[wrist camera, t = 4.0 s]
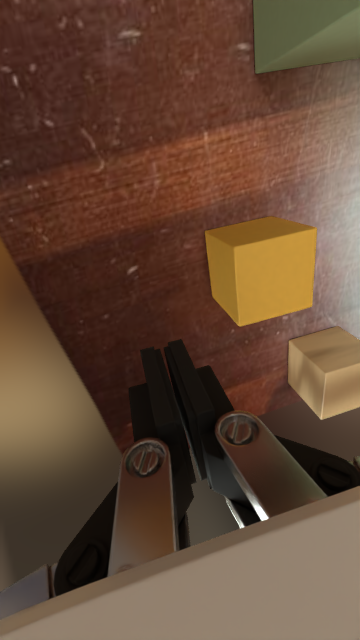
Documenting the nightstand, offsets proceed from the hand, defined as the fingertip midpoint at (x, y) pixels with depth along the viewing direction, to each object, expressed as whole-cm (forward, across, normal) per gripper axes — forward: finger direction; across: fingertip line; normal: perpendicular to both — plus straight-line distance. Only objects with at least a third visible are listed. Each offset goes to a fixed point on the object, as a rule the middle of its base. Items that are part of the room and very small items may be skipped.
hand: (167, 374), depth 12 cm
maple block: (+10, -14, +10) cm, 20 cm away
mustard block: (+10, -8, 0) cm, 13 cm away
